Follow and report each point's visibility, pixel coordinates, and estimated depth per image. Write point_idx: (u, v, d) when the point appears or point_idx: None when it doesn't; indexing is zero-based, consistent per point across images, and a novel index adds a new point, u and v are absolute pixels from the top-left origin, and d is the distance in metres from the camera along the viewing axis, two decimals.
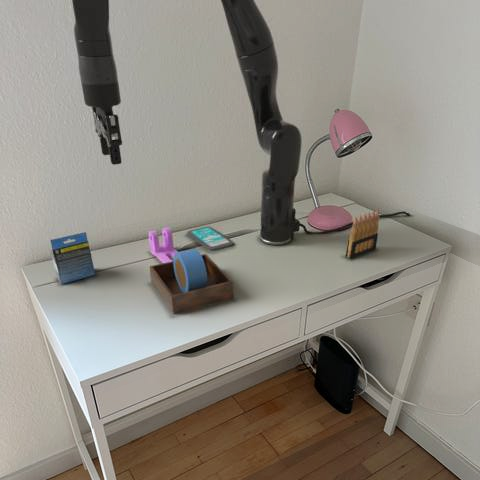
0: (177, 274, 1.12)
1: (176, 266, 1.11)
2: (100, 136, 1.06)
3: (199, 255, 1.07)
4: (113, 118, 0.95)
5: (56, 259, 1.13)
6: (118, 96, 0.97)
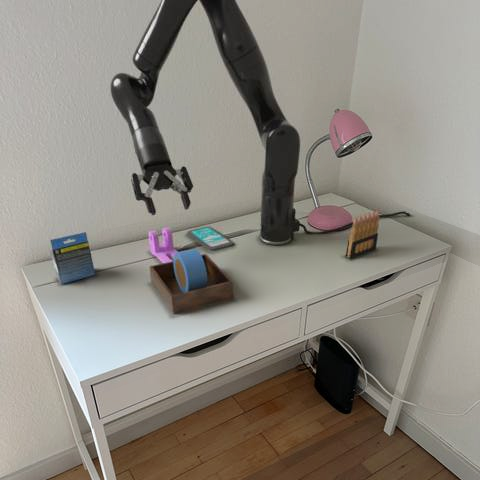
0: (177, 274, 1.12)
1: (176, 266, 1.11)
2: (181, 194, 1.15)
3: (199, 255, 1.07)
4: (132, 177, 1.10)
5: (56, 259, 1.13)
6: (148, 156, 1.10)
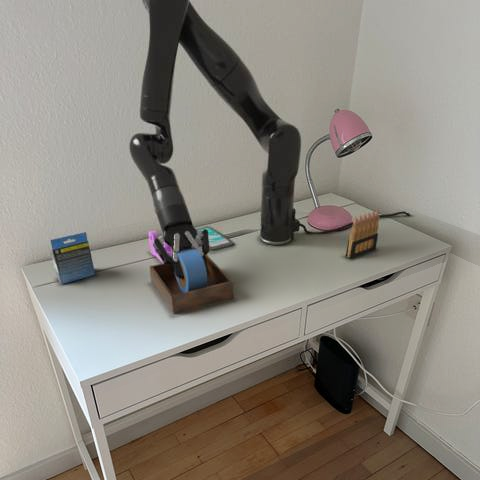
0: None
1: None
2: None
3: (199, 255, 1.07)
4: (154, 243, 1.08)
5: (56, 259, 1.13)
6: (169, 218, 1.07)
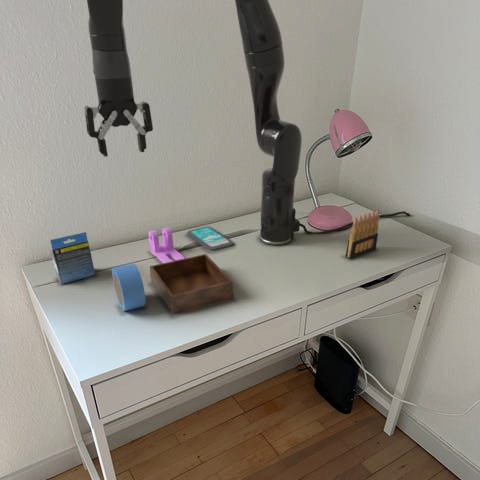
0: (116, 290, 1.07)
1: (114, 282, 1.06)
2: (138, 131, 1.06)
3: (136, 271, 1.02)
4: (86, 110, 0.98)
5: (56, 259, 1.13)
6: (108, 93, 0.96)
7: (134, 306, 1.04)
